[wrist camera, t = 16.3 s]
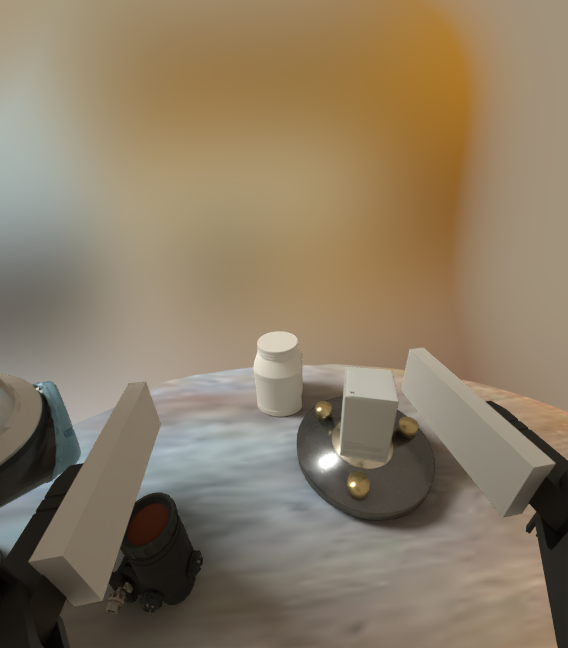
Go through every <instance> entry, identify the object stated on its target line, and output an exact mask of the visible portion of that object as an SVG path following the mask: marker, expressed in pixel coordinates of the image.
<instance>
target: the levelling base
mask: <svg viewBox="0 0 568 648" xmlns="http://www.w3.org/2000/svg"><path fill="white" fill-rule="evenodd" d="M342 403H343V397H337V398H333V399H330V400H327V401H320V402H318V403H317V404H316V406H315V407H314V408H313V409H311V410H310V411H309V412H308V413H307V414H306V416H305V417H304V419H303V420H302V422H301V424H300V426H299V430H298V434H297V455H298V460H299V464H300V467H301V470H302V472H303V474H304V476H305V478H306V480H307V481H308V483H309V484H310V486H311V487H312V488H313V489H314V490H315V491H316V493H317V494H318V495H319V496H320V497H322V498H323V499H324V500H325V501H326V502H328V503H329V504H331V505H332V506H334V507H335V508H337V509H339V510H341V511H343V512H345V513H347V514H350V515H352V516H355V517H359V518H363V519H370V520H389V519H394V518H399V517H401V516H404V515H407V514H408V513H410V512H412V511H413V510H415V509H416V508H417V507H418V506H419V505H420V504H421V503H422V502H423V501H424V499H425V498H426V496H427V494H428V492H429V490H430V487H431V484H432V481H433V477H434V472H435V462H434V456H433V452H432V449H431V447H430V444H429V442H428V440H427V439H426V437H425V435H424V434H423V433H422V431H421V430H420V429H419V428H418V423H417V422H416V421H415V420H414V419H412V418H410V417H407V416H406V415H404V414H403V413H402V412H400V411H398V410H397V413H396V418H395V423H394V428H393V434H392V439H391V444H390V449H389V454H388V459H387V462H386V463H383V462H377V461H371V460H364V459H359V458H353V457H347V456H342V455H340V429H341V417H342Z"/></svg>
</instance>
